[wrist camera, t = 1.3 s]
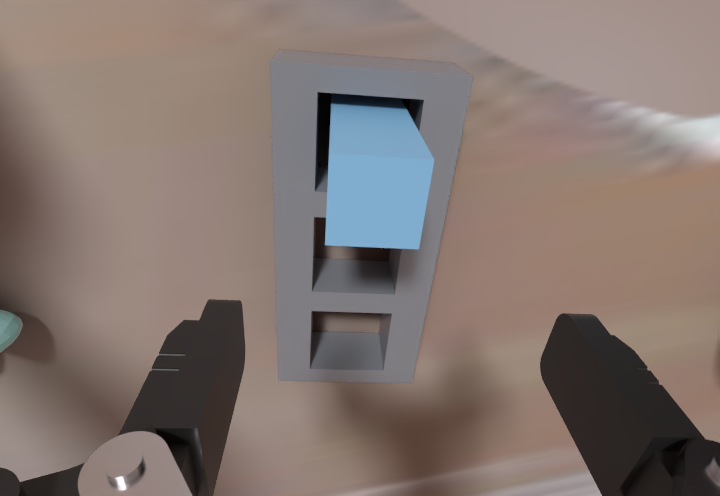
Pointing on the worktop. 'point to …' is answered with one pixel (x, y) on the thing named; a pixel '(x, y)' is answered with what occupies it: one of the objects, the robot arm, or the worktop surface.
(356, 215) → the plug
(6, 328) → the figurine
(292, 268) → the panel
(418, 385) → the worktop surface
